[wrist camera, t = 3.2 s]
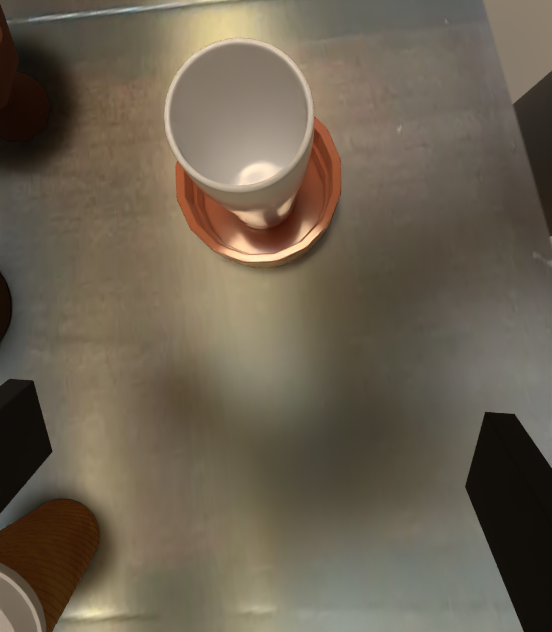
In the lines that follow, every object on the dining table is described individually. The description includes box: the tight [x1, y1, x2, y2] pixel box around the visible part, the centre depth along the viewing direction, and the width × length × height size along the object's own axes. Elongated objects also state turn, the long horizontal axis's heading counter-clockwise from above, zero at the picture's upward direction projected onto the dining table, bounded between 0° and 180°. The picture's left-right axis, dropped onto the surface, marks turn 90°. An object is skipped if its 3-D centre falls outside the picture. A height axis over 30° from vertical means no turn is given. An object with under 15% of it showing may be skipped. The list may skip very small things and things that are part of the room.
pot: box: [176, 116, 341, 267], centre depth 31 cm, size 11×11×6 cm
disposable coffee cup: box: [0, 499, 99, 632], centre depth 29 cm, size 10×10×12 cm
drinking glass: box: [164, 38, 314, 229], centre depth 25 cm, size 7×7×15 cm
